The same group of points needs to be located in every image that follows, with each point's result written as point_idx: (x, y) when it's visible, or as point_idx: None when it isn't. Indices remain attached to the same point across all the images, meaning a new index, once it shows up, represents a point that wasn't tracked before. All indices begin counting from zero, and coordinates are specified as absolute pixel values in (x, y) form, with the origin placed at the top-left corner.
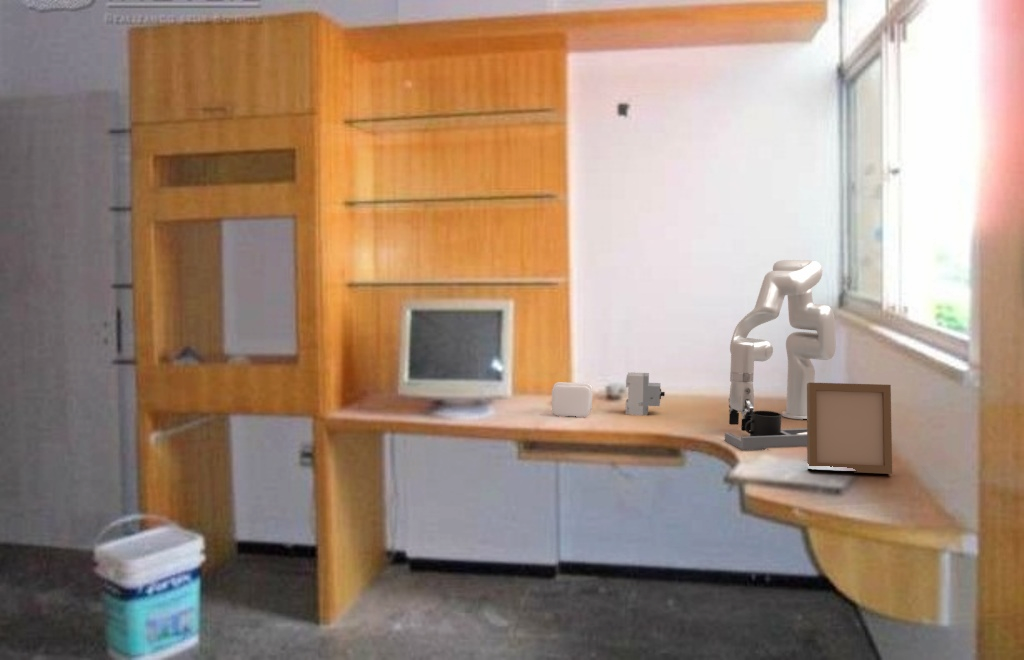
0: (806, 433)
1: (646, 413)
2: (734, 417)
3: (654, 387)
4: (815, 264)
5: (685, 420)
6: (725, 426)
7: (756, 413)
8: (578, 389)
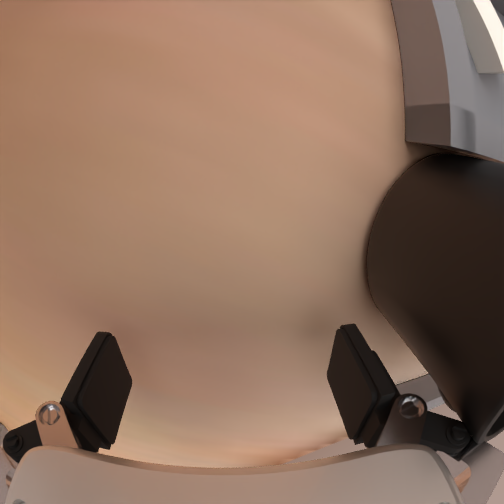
0: (492, 19)
1: (3, 430)
2: (108, 401)
3: None
4: None
5: (3, 391)
6: (30, 317)
7: (482, 403)
8: None
